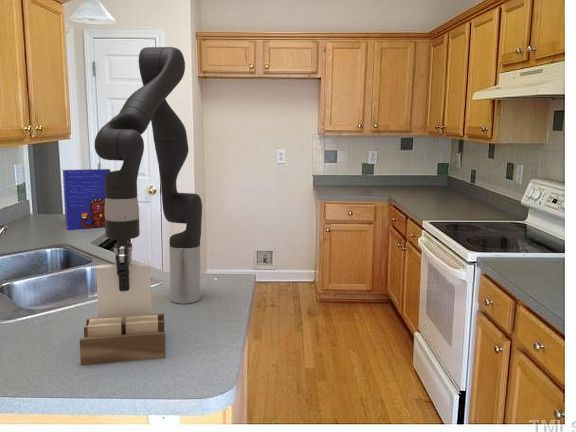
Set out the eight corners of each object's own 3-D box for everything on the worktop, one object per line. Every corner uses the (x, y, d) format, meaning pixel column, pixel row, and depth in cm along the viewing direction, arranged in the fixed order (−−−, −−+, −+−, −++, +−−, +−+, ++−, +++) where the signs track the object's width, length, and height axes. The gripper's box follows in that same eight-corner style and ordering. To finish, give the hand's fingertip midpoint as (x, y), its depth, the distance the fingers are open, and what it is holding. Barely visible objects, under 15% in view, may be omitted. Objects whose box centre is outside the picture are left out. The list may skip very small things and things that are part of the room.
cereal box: (109, 224, 270) (107, 168, 265) (112, 226, 265) (110, 169, 260) (65, 228, 258) (62, 169, 253) (67, 230, 253) (64, 170, 248)
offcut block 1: (91, 352, 117) (89, 319, 115) (123, 349, 118) (122, 317, 117) (88, 360, 112) (87, 326, 111) (122, 358, 114) (120, 324, 113)
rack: (88, 346, 123) (86, 318, 121) (164, 340, 127) (163, 313, 126) (80, 370, 111) (79, 340, 109) (165, 362, 115) (165, 333, 114)
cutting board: (100, 329, 121) (97, 265, 118) (151, 325, 124) (150, 262, 121) (99, 333, 119) (96, 268, 116) (151, 329, 122) (150, 265, 119)
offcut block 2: (127, 349, 119) (126, 316, 117) (158, 346, 121) (157, 314, 119) (126, 357, 114) (125, 324, 113) (158, 354, 116) (157, 321, 115)
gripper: (138, 222, 111) (140, 297, 114) (139, 211, 124) (141, 279, 127) (102, 223, 109) (105, 299, 112) (107, 211, 122) (110, 280, 125)
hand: (124, 288), depth 120 cm, fingers closed on cutting board, 2 cm apart
